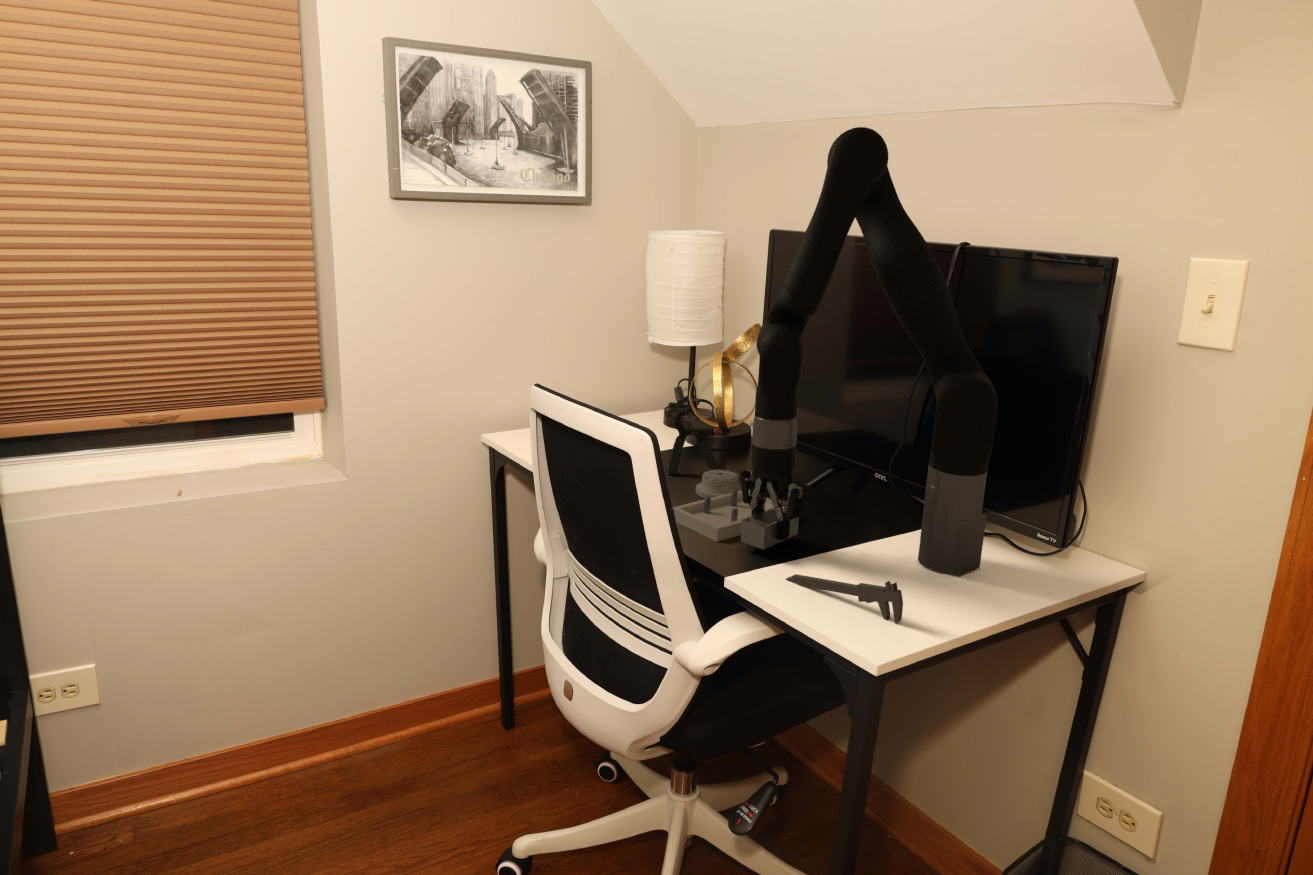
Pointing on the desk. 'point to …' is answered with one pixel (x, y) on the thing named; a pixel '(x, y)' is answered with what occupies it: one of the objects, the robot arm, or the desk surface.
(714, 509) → the pin tray
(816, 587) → the caliper
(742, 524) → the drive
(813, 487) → the desk surface
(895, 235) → the robot arm
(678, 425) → the hand grip strengthener
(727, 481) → the mechanical component
